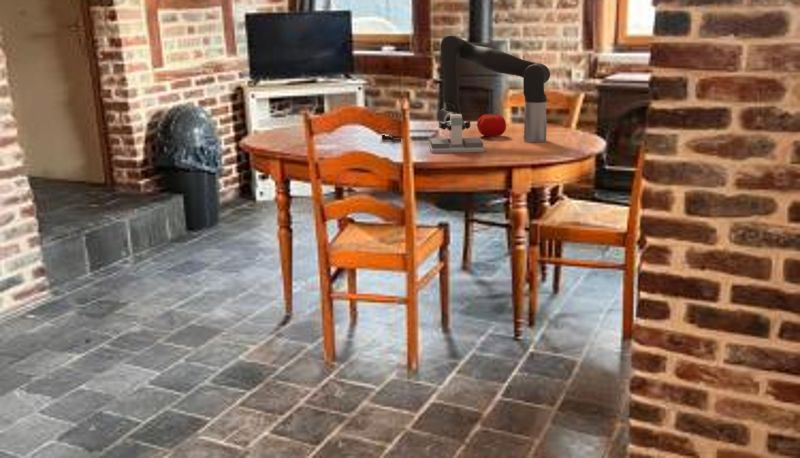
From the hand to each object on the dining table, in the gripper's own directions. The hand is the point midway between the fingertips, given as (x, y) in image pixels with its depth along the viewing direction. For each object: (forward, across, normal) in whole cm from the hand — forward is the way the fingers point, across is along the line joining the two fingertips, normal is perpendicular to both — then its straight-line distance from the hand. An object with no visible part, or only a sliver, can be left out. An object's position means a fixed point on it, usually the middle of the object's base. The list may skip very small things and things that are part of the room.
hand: (456, 127), depth 323 cm
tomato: (-33, +19, +10) cm, 39 cm away
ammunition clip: (-32, -26, +10) cm, 42 cm away
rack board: (-3, 0, +9) cm, 10 cm away
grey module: (-3, 0, +7) cm, 7 cm away
